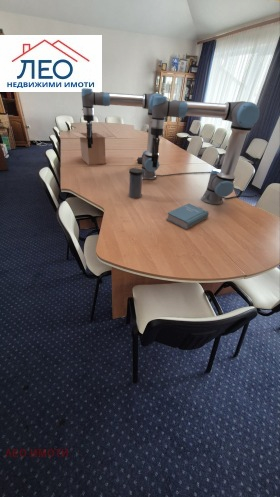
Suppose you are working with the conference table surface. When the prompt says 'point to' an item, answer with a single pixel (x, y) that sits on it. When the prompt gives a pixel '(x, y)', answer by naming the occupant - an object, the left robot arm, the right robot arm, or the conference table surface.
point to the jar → (135, 186)
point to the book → (187, 216)
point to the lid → (136, 171)
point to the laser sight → (140, 159)
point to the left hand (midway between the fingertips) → (90, 146)
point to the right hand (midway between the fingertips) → (153, 164)
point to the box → (93, 147)
